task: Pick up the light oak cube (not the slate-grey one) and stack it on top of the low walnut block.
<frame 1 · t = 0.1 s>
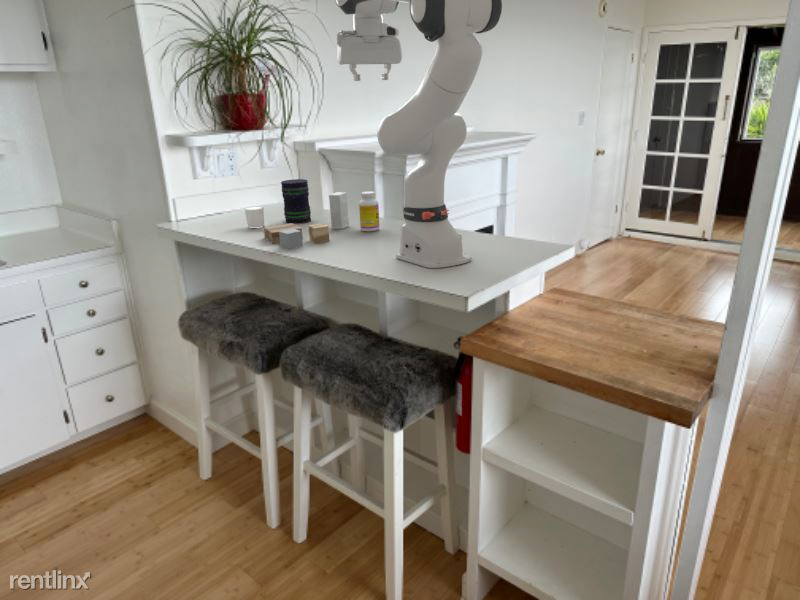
hand: (371, 80, 173), 48 cm above the table, fingers open, 8 cm apart
supplement bottle: (370, 230, 195), on the table
skincare box: (340, 227, 201), on the table
walnut block: (283, 239, 188), on the table
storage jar: (298, 221, 213), on the table
grey cube: (291, 246, 177), on the table
shot glass: (256, 227, 207), on the table
oak cube: (319, 240, 183), on the table
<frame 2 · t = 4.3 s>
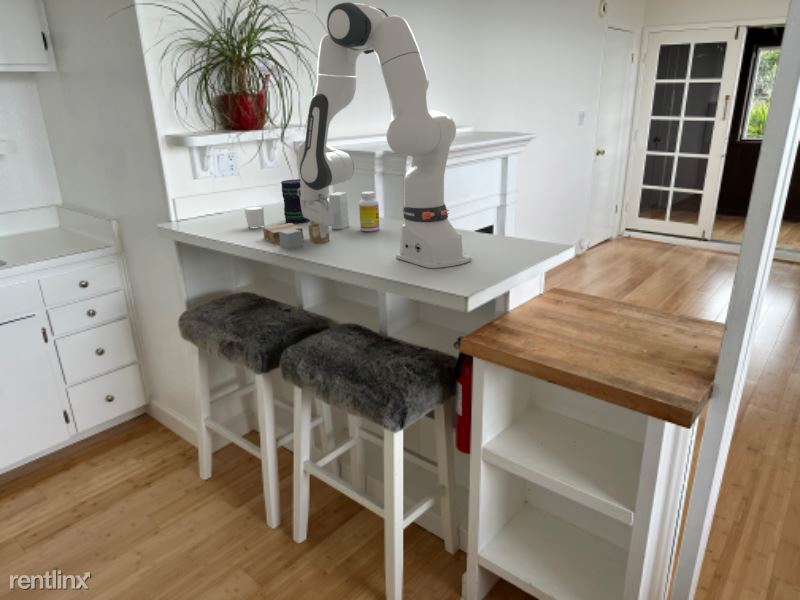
hand: (319, 235, 183), 2 cm above the table, fingers closed on oak cube, 5 cm apart
oak cube: (319, 240, 183), on the table, touching gripper
everything else where it was.
when the fingers open (7 cm above the table, at t = 9.5 s): oak cube drops 2 cm, point 4 cm above the table.
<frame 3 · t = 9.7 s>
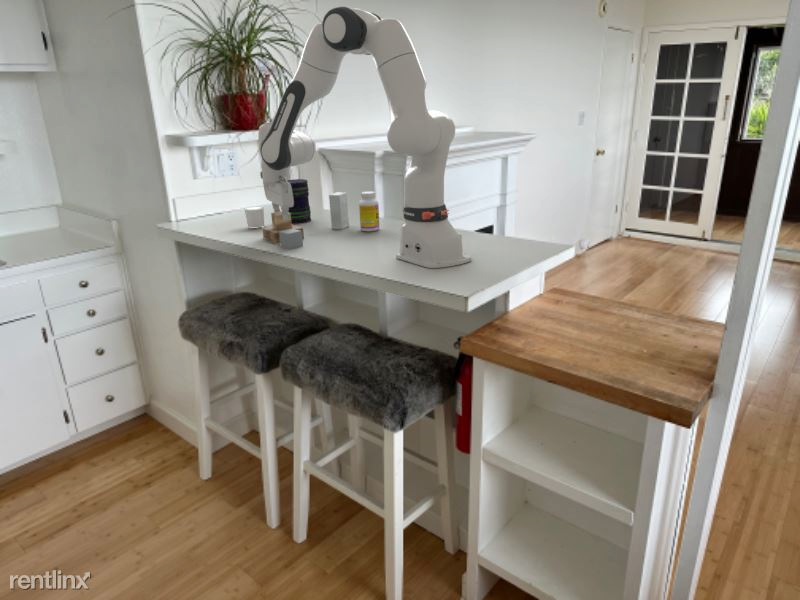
hand: (281, 217, 185), 7 cm above the table, fingers open, 7 cm apart
oak cube: (282, 228, 186), point 4 cm above the table
everything else where it was.
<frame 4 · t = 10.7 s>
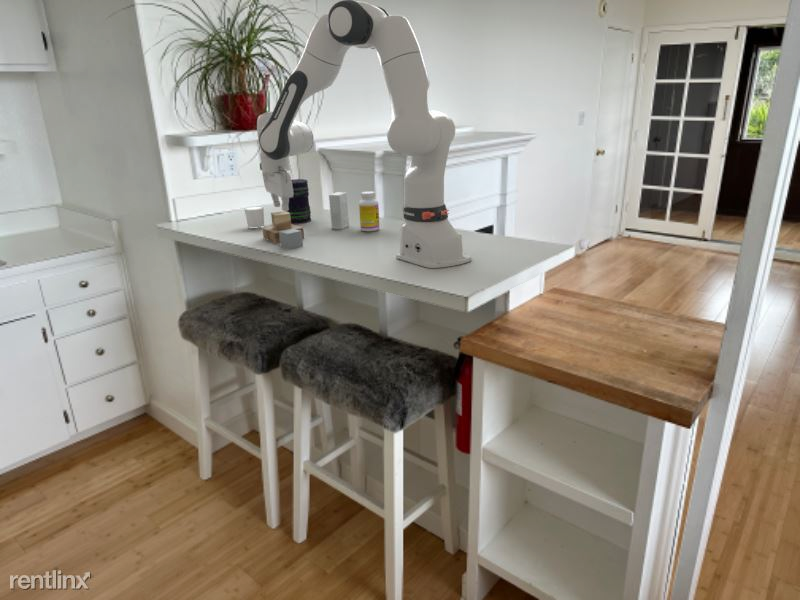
hand: (281, 208, 184), 10 cm above the table, fingers open, 8 cm apart
nothing on the table moved.
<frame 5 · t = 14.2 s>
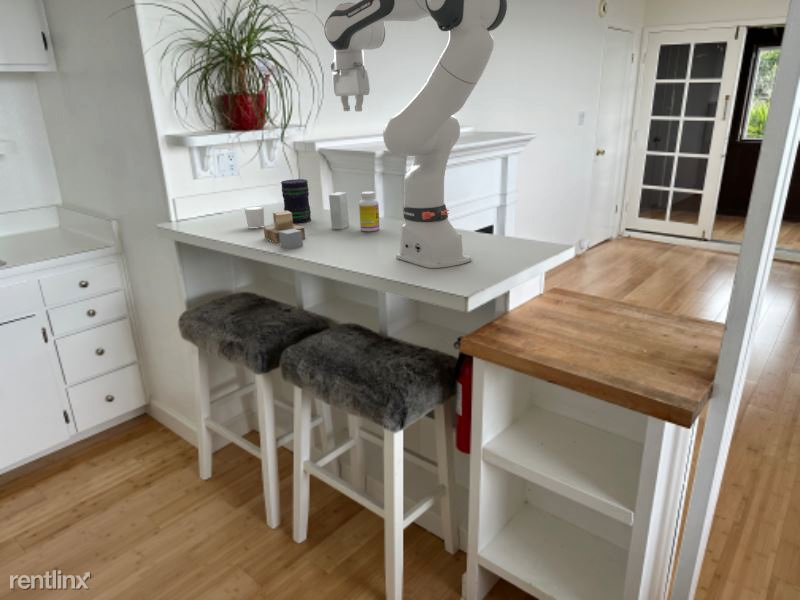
hand: (352, 111, 177), 39 cm above the table, fingers open, 8 cm apart
walnut block: (285, 239, 188), on the table, touching oak cube
oak cube: (283, 227, 187), point 4 cm above the table, touching walnut block
everything else where it was.
at the end: oak cube inside the target area on the walnut block (0.4 cm from its centre), point 4.0 cm above the walnut block's base; oak cube tilted 1°; the gripper is holding nothing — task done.
